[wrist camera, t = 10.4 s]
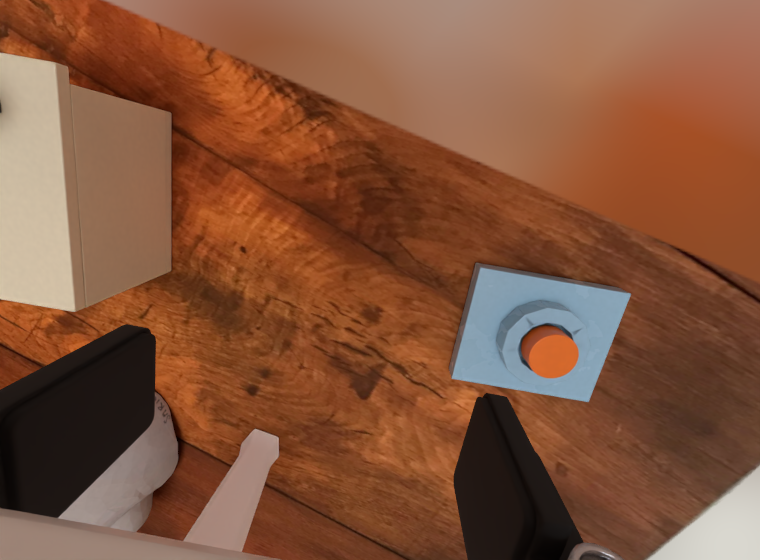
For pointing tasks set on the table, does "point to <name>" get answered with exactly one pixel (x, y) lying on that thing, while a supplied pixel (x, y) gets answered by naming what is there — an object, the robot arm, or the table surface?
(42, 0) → the table surface
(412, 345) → the table surface
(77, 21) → the table surface
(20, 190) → the lid
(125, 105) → the chest
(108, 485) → the grey rounded lump
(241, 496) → the perfume bottle
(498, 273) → the box
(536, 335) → the button
